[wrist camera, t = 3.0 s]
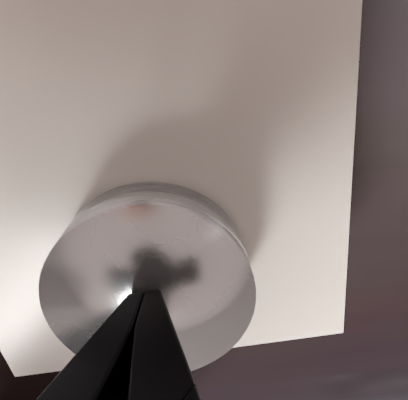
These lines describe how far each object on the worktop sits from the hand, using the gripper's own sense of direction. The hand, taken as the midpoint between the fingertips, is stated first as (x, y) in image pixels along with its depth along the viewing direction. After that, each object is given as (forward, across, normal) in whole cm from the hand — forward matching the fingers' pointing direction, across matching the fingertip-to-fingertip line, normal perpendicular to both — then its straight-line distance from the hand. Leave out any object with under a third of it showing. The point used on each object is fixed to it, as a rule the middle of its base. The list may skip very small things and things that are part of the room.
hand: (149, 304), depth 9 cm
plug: (+5, 0, 0) cm, 5 cm away
